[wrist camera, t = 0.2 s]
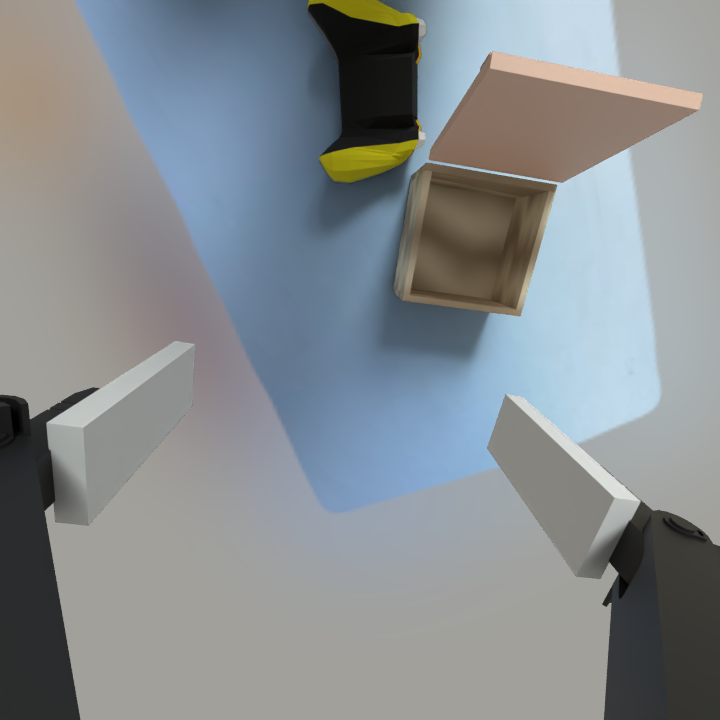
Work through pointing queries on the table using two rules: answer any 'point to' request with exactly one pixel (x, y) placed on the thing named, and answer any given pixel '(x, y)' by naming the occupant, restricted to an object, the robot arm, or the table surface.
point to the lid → (553, 118)
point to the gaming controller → (371, 85)
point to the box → (471, 239)
